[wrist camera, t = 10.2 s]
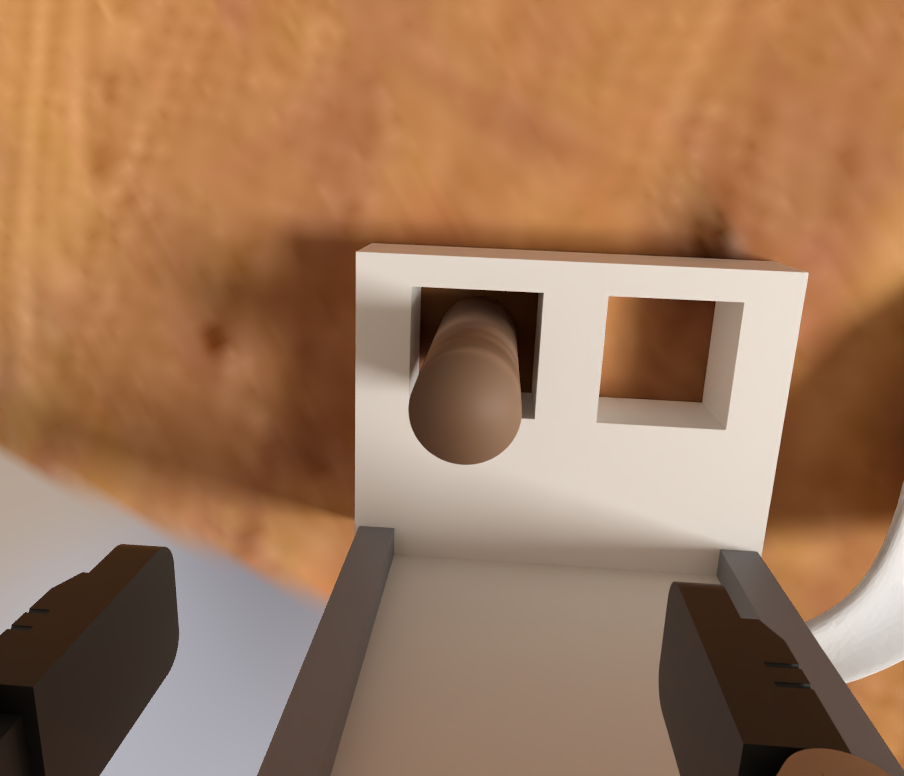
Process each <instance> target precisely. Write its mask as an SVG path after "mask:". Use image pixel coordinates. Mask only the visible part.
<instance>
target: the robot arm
mask: <svg viewBox="0 0 904 776" xmlns="http://www.w3.org/2000/svg"><path fill="white" fill-rule="evenodd" d="M178 640H179V626H178V612H177V599H176V586H175V572H174V561H173V556H172V553H171V551H170V550H169V549H168V548H166V547H157V546H142V545H126V544H122V545H118V546H117V547H115V548H114V549H113V550H112V551H111V552H110V553H109V554H108V555H107V556H106V557H105V558H104V559H103V560H102V561H101V562H100V563H99V564H98V565H97V566H96V567H94V568H93V569H92V570H91V571H90V572H89V573H84V572H83V573H80V574H78V575H77V576H74V577H73V578H71V579H69V580H67V581H65V582H63V583H61V584H59V585H57V586H55V587H54V588H51V590H49V591H48V592H47V593H46V594H45V595H44V596H43V597H42V598H40V599H39V600H38V601H37V602H36V603H35V604H34V605H33V606H32V607H31V608H30V610H29V613H27V612H25V613H24V614H23V615H22V616H21V617H20V618H19V619H18V620H17V621H15V622H14V623H13V624H12V627H11V629H7V630H6V631H5V632H3V633H2V634H1V635H0V776H99V775H100V774H101V773H102V771H103V770H104V768H105V767H106V765H107V764H108V762H109V761H110V759H111V758H112V756H113V755H114V753H115V752H116V750H117V749H118V747H119V746H120V744H121V743H122V741H123V740H124V738H125V737H126V735H127V734H128V732H129V731H130V729H131V728H132V727H133V725H134V723H135V722H136V721H137V719H138V718H139V716H140V715H141V713H142V712H143V710H144V708H145V707H146V706H147V704H148V703H149V701H150V700H151V698H152V697H153V695H154V694H155V692H156V691H157V689H158V688H159V686H160V685H161V683H162V682H163V680H164V679H165V678H166V676H167V675H168V673H169V671H170V670H171V667H172V665H173V662H174V660H175V656H176V653H177V648H178ZM658 681H659V699H660V705H661V710H662V714H663V717H664V721H665V724H666V728H667V731H668V735H669V738H670V742H671V745H672V749H673V752H674V756H675V759H676V763H677V766H678V770H679V773H680V776H891V775H889V774H888V773H887V772H885V771H884V770H882V769H881V768H879V767H877V766H876V765H874V764H872V763H870V762H868V761H866V760H864V759H862V758H859V757H857V756H855V755H852V754H851V752H850V750H849V748H848V747H847V745H846V743H845V742H844V740H843V738H842V737H841V735H840V733H839V732H838V730H837V728H836V726H835V725H834V723H833V721H832V720H831V718H830V716H829V715H828V713H827V711H826V710H825V708H824V706H823V704H822V703H821V701H820V699H819V698H818V696H817V694H816V693H815V691H814V689H811V687H810V682H809V681H808V679H807V677H806V676H805V674H804V672H803V671H802V669H799V664H798V662H797V660H796V659H795V657H794V655H793V654H792V652H791V650H790V649H789V647H788V645H787V643H786V642H785V640H783V639H782V638H781V637H780V636H779V635H777V634H776V633H775V632H774V631H772V630H771V629H770V628H769V627H768V626H766V625H765V624H764V623H763V622H761V621H760V620H759V619H746V618H741V617H740V616H739V614H738V612H737V610H736V608H735V606H734V604H733V602H732V600H731V598H730V596H729V594H728V593H727V591H726V589H725V587H724V586H723V585H721V584H708V583H693V582H677V581H674V582H672V584H671V586H670V589H669V594H668V600H667V608H666V616H665V624H664V632H663V640H662V648H661V656H660V664H659V680H658Z"/></svg>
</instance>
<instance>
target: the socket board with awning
mask: <svg viewBox="0 0 904 776" xmlns="http://www.w3.org/2000/svg"><path fill="white" fill-rule="evenodd" d="M808 274H809V273H808V272H805V271H802V270H799V269H796V268H793V267H790V266H787V265H784V264H781V263H778V262H775V261H758V260H736V259H714V258H692V257H670V256H648V255H626V254H604V253H582V252H560V251H538V250H516V249H494V248H472V247H450V246H428V245H406V244H384V243H371V244H369V245H368V246H366V247H364V248H362V249H360V250H358V251H356V356H355V537H354V540H353V542H352V545H351V547H350V550H349V552H348V555H347V557H346V559H345V562H344V564H343V567H342V569H341V572H340V574H339V577H338V579H337V581H336V584H335V586H334V589H333V591H332V594H331V596H330V599H329V601H328V603H327V606H326V608H325V611H324V613H323V616H322V618H321V621H320V623H319V626H318V628H317V630H316V633H315V635H314V638H313V640H312V643H311V645H310V648H309V650H308V653H307V655H306V657H305V660H304V662H303V665H302V667H301V670H300V672H299V675H298V677H297V679H296V682H295V684H294V687H293V689H292V692H291V694H290V697H289V699H288V702H287V704H286V706H285V709H284V711H283V714H282V716H281V719H280V721H279V723H278V726H277V728H276V731H275V733H274V736H273V738H272V741H271V743H270V745H269V748H268V751H267V753H266V755H265V758H264V760H263V763H262V765H261V767H260V770H259V772H258V775H257V776H680V773H679V770H678V766H677V763H676V759H675V756H674V752H673V749H672V745H671V742H670V738H669V735H668V731H667V728H666V724H665V721H664V717H663V714H662V710H661V705H660V699H659V681H658V680H659V664H660V656H661V648H662V640H663V632H664V624H665V616H666V608H667V600H668V594H669V589H670V586H671V584H672V582H674V581H677V582H693V583H708V584H721V585H723V586H724V587H725V589H726V591H727V593H728V594H729V596H730V598H731V600H732V602H733V604H734V606H735V608H736V610H737V612H738V614H739V616H740V617H741V618H746V619H759V620H760V621H761V622H763V623H764V624H765V625H766V626H768V627H769V628H770V629H771V630H772V631H774V632H775V633H776V634H777V635H779V636H780V637H781V638H782V639H783V640H785V642H786V643H787V645H788V647H789V649H790V650H791V652H792V654H793V655H794V657H795V659H796V660H797V662H798V664H799V669H802V671H803V672H804V674H805V676H806V677H807V679H808V681H809V682H810V687H811V689H814V691H815V693H816V694H817V696H818V698H819V699H820V701H821V703H822V704H823V706H824V708H825V710H826V711H827V713H828V715H829V716H830V718H831V720H832V721H833V723H834V725H835V726H836V728H837V730H838V732H839V733H840V735H841V737H842V738H843V740H844V742H845V743H846V745H847V747H848V748H849V750H850V752H851V754H852V755H855V756H857V757H859V758H862V759H864V760H866V761H868V762H870V763H872V764H874V765H876V766H877V767H879V768H881V769H882V770H884V771H885V772H887V773H888V774H889V775H891V776H904V770H903V768H902V767H901V766H900V764H899V763H898V761H897V760H896V758H895V757H894V755H893V754H892V752H891V751H890V749H889V748H888V746H887V745H886V743H885V742H884V740H883V739H882V737H881V736H880V734H879V733H878V731H877V730H876V728H875V727H874V725H873V724H872V722H871V721H870V719H869V718H868V716H867V715H866V713H865V712H864V710H863V709H862V707H861V706H860V704H859V703H858V701H857V700H856V698H855V697H854V695H853V694H852V692H851V691H850V689H849V688H848V686H847V685H846V683H845V682H844V680H843V679H842V677H841V676H840V674H839V673H838V671H837V670H836V668H835V667H834V665H833V664H832V662H831V661H830V659H829V658H828V656H827V655H826V653H825V652H824V650H823V649H822V647H821V646H820V644H819V643H818V641H817V640H816V638H815V637H814V635H813V634H812V632H811V631H810V629H809V628H808V627H807V625H806V624H805V622H804V621H803V619H802V618H801V616H800V615H799V613H798V612H797V610H796V609H795V607H794V606H793V604H792V603H791V601H790V600H789V598H788V597H787V595H786V594H785V592H784V591H783V589H782V588H781V586H780V585H779V583H778V582H777V580H776V579H775V577H774V576H773V574H772V573H771V571H770V570H769V568H768V567H767V565H766V564H765V562H764V561H763V559H762V558H761V555H762V550H763V544H764V538H765V532H766V526H767V520H768V514H769V508H770V502H771V496H772V490H773V484H774V478H775V472H776V466H777V460H778V454H779V448H780V442H781V436H782V430H783V424H784V418H785V412H786V406H787V400H788V394H789V388H790V382H791V376H792V370H793V364H794V358H795V352H796V346H797V340H798V334H799V328H800V322H801V316H802V310H803V304H804V298H805V292H806V286H807V280H808ZM421 287H434V288H455V289H475V290H496V291H517V292H537V293H538V307H537V321H536V335H535V350H534V364H533V378H532V392H531V393H521V403H522V418H521V423H520V427H519V430H518V432H517V435H516V436H515V438H514V440H513V441H512V443H511V444H510V445H509V446H508V447H507V448H506V449H505V450H504V451H503V452H502V453H501V454H499V455H498V456H496V457H494V458H493V459H491V460H488V461H486V462H483V463H479V464H472V465H460V464H454V463H450V462H446V461H444V460H441V459H439V458H437V457H436V456H434V455H433V454H431V453H430V452H428V451H427V450H426V449H425V448H424V447H423V446H422V445H421V443H420V442H419V441H418V439H417V438H416V436H415V434H414V432H413V430H412V427H411V424H410V420H409V412H408V407H409V399H410V395H411V392H412V390H413V387H414V385H415V382H416V380H417V378H418V375H419V349H420V313H421ZM608 296H620V297H641V298H662V299H682V300H703V301H716V303H715V311H714V318H713V326H712V333H711V340H710V348H709V355H708V363H707V370H706V377H705V385H704V392H703V400H702V402H684V401H666V400H648V399H630V398H612V397H599V390H600V380H601V369H602V359H603V348H604V338H605V327H606V317H607V306H608Z"/></svg>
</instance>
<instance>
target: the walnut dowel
mask: <svg viewBox="0 0 904 776" xmlns="http://www.w3.org/2000/svg"><path fill="white" fill-rule="evenodd" d="M408 412H409V420H410V424H411V427H412V430H413V432H414V434H415V436H416V438H417V439H418V441H419V442H420V443H421V445H422V446H423V447H424V448H425V449H426V450H427V451H428V452H430V453H431V454H433V455H434V456H436V457H437V458H439V459H441V460H444V461H446V462H450V463H454V464H460V465H472V464H479V463H483V462H486V461H488V460H491V459H493V458H494V457H496V456H498V455H499V454H501V453H502V452H503V451H504V450H505V449H506V448H507V447H508V446H509V445H510V444H511V443H512V441H513V440H514V438H515V436H516V435H517V432H518V430H519V427H520V423H521V418H522V403H521V390H520V378H519V365H518V352H517V339H516V329H515V324H514V321H513V319H512V316H511V315H510V313H509V312H508V311H507V309H506V308H505V307H504V306H503V305H501V304H500V303H499V302H497V301H495V300H493V299H490V298H487V297H482V296H473V297H467V298H464V299H462V300H459V301H458V302H456V303H455V304H453V305H452V306H451V307H450V308H449V309H448V310H447V312H446V313H445V314H444V316H443V318H442V320H441V323H440V325H439V328H438V330H437V332H436V335H435V337H434V339H433V342H432V344H431V347H430V349H429V351H428V354H427V356H426V359H425V361H424V363H423V366H422V368H421V370H420V373H419V375H418V378H417V380H416V382H415V385H414V387H413V390H412V392H411V395H410V399H409V407H408Z"/></svg>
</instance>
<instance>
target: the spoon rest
mask: <svg viewBox="0 0 904 776" xmlns="http://www.w3.org/2000/svg"><path fill="white" fill-rule="evenodd" d="M805 624H806V625H807V627H808V628H809V629H810V631H811V632H812V634H813V635H814V637H815V638H816V640H817V641H818V643H819V644H820V646H821V647H822V649H823V650H824V652H825V653H826V655H827V656H828V658H829V659H830V661H831V662H832V664H833V665H834V667H835V668H836V670H837V671H838V673H839V674H840V676H841V677H842V679H843V680H844V682H845V683H848V682H852V681H855V680H858V679H861V678H864V677H866V676H869V675H871V674H874V673H876V672H879V671H881V670H883V669H886V668H888V667H890V666H892V665H894V664H896V663H898V662H900V661H902V660H904V482H903V485H902V489H901V493H900V497H899V500H898V504H897V508H896V510H895V513H894V516H893V519H892V521H891V524H890V527H889V530H888V533H887V535H886V538H885V540H884V543H883V545H882V547H881V549H880V551H879V553H878V555H877V557H876V559H875V561H874V562H873V564H872V566H871V568H870V569H869V571H868V572H867V574H866V575H865V576H864V578H863V579H862V580H861V582H860V583H859V584H858V585H857V586H856V587H855V588H854V589H853V590H852V591H851V592H850V594H849V595H848V596H846V597H845V598H844V599H843V600H842V601H840V602H839V603H838V604H836V605H835V606H833V607H832V608H831V609H829V610H828V611H826V612H824V613H822V614H820V615H818V616H817V617H815V618H813V619H811V620H808V621H806V622H805Z"/></svg>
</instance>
